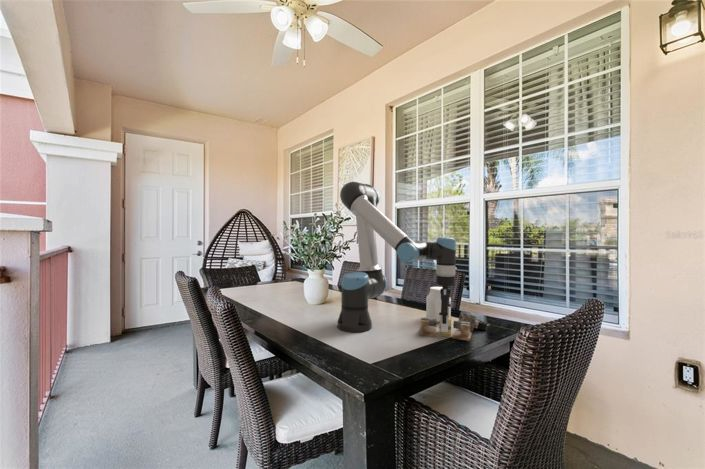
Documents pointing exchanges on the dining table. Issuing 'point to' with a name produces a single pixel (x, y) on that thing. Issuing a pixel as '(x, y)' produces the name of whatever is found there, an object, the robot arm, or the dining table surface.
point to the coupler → (448, 328)
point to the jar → (435, 304)
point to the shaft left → (425, 327)
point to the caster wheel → (472, 321)
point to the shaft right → (462, 330)
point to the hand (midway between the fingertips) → (444, 326)
